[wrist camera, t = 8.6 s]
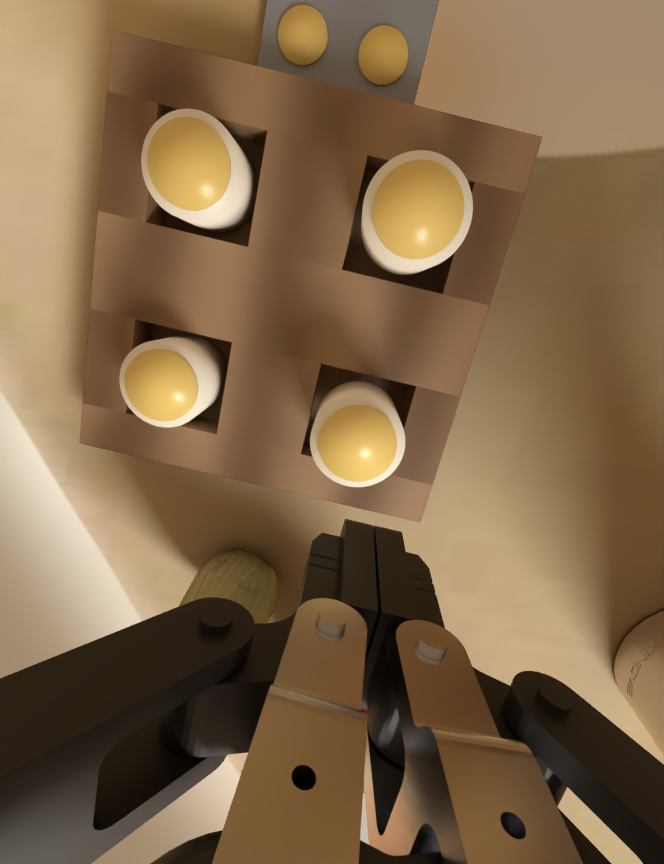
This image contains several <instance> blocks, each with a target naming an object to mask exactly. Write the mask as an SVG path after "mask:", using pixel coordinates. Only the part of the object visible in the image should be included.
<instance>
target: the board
mask: <svg viewBox="0 0 664 864" xmlns="http://www.w3.org/2000/svg"><path fill="white" fill-rule="evenodd" d="M178 109H196V110H200V111H203V112H205V113H207V114H209V115H211V116H213V117H214V118H216V119H217V120H218V121H219V122H220V123H222V124H223V126H224V127H225V128H226V129H227V130H228V132H229V133H230V134H231V136H232V137H233V138H234V140H235V141H236V142H237V144H238V145H239V146H240V148H241V149H242V150H243V152H244V153H245V154H246V156H247V157H248V158H249V160H250V161H251V163H252V165H253V167H254V169H255V172H256V175H257V179H258V190H257V196H256V202H255V208H254V211H253V213H252V214H251V216H250V217H249V219H248V220H247V221H246V222H245V223H244V224H243V225H241V226H240V227H238V228H237V229H235V230H232V231H229V232H225V233H214V232H209V231H206V230H203V229H201V228H199V227H197V226H195V225H193V224H191V223H188V222H186V221H184V220H182V219H180V218H178V217H175V216H173V215H171V214H170V213H168V212H167V211H165V210H164V209H163V208H162V207H161V206H160V205H159V204H158V203H157V202H156V201H155V200H154V198H153V197H152V195H151V194H150V192H149V190H148V188H147V186H146V184H145V181H144V177H143V173H142V166H141V154H142V148H143V144H144V141H145V138H146V136H147V134H148V132H149V130H150V129H151V127H152V126H153V125H154V124H155V122H156V121H158V120H159V119H160V118H161V117H162V116H164V115H165V114H167V113H169V112H171V111H175V110H178ZM541 140H542V137H540V136H536V135H532V134H528V133H524V132H519V131H516V130H512V129H508V128H503V127H500V126H496V125H492V124H488V123H484V122H480V121H476V120H472V119H468V118H464V117H460V116H456V115H452V114H448V113H444V112H440V111H435V110H432V109H428V108H423V107H420V106H416V105H412V104H408V103H404V102H399V101H395V100H391V99H387V98H383V97H379V96H375V95H371V94H367V93H363V92H359V91H355V90H351V89H347V88H343V87H339V86H335V85H331V84H327V83H323V82H319V81H315V80H311V79H307V78H303V77H299V76H295V75H291V74H287V73H283V72H279V71H275V70H271V69H267V68H263V67H259V66H255V65H251V64H247V63H243V62H239V61H235V60H231V59H227V58H223V57H219V56H215V55H211V54H207V53H203V52H199V51H195V50H191V49H187V48H183V47H179V46H175V45H171V44H167V43H163V42H159V41H155V40H151V39H147V38H143V37H139V36H135V35H131V34H127V33H123V32H119V31H115V30H112V36H111V49H110V62H109V74H108V87H107V100H106V113H105V125H104V138H103V151H102V163H101V176H100V189H99V202H98V214H97V227H96V240H95V253H94V265H93V278H92V291H91V304H90V316H89V329H88V342H87V355H86V367H85V380H84V393H83V406H82V418H81V431H80V444H85V445H89V446H93V447H98V448H102V449H106V450H111V451H115V452H119V453H123V454H128V455H132V456H136V457H141V458H145V459H149V460H154V461H158V462H162V463H167V464H171V465H175V466H179V467H184V468H188V469H192V470H197V471H201V472H205V473H210V474H214V475H218V476H222V477H227V478H231V479H235V480H240V481H244V482H248V483H253V484H257V485H261V486H266V487H270V488H274V489H278V490H283V491H287V492H291V493H296V494H300V495H304V496H309V497H313V498H317V499H321V500H326V501H330V502H334V503H339V504H343V505H347V506H352V507H356V508H360V509H365V510H369V511H373V512H377V513H382V514H386V515H390V516H395V517H399V518H403V519H408V520H412V521H416V522H421V519H422V516H423V513H424V510H425V507H426V504H427V500H428V497H429V494H430V491H431V488H432V485H433V481H434V478H435V475H436V472H437V469H438V466H439V462H440V459H441V456H442V453H443V450H444V447H445V443H446V440H447V437H448V434H449V431H450V428H451V424H452V421H453V418H454V415H455V412H456V409H457V406H458V402H459V399H460V396H461V393H462V390H463V387H464V383H465V380H466V377H467V374H468V371H469V368H470V364H471V361H472V358H473V355H474V352H475V349H476V345H477V342H478V339H479V336H480V333H481V330H482V326H483V323H484V320H485V317H486V314H487V311H488V308H489V304H490V301H491V298H492V295H493V292H494V289H495V285H496V282H497V279H498V276H499V273H500V270H501V266H502V263H503V260H504V257H505V254H506V251H507V247H508V244H509V241H510V238H511V235H512V232H513V228H514V225H515V222H516V219H517V216H518V213H519V210H520V206H521V203H522V200H523V197H524V194H525V191H526V187H527V184H528V181H529V178H530V175H531V172H532V168H533V165H534V162H535V159H536V156H537V153H538V149H539V146H540V143H541ZM415 150H427V151H433V152H436V153H439V154H441V155H443V156H445V157H447V158H448V159H450V160H451V161H453V162H454V163H455V164H456V165H457V166H458V167H459V168H460V170H461V171H462V172H463V174H464V175H465V177H466V179H467V181H468V184H469V186H470V189H471V193H472V199H473V213H472V220H471V224H470V227H469V230H468V233H467V235H466V237H465V239H464V241H463V242H462V244H461V245H460V246H459V248H458V249H457V250H456V251H455V252H454V253H453V254H452V255H451V256H450V257H449V258H447V259H446V260H445V261H443V262H441V263H440V264H438V265H436V266H433V267H431V268H428V269H426V270H424V271H421V272H419V273H415V274H410V275H399V274H394V273H391V272H388V271H386V270H384V269H382V268H381V267H379V266H378V265H377V264H376V263H375V262H374V261H373V260H372V259H371V258H370V256H369V255H368V253H367V251H366V249H365V247H364V244H363V240H362V235H361V220H362V209H363V202H364V197H365V194H366V191H367V188H368V186H369V184H370V182H371V180H372V179H373V177H374V176H375V174H376V173H377V172H378V170H379V169H380V168H381V167H382V166H383V165H384V164H386V163H387V162H388V161H389V160H391V159H392V158H394V157H396V156H398V155H400V154H403V153H406V152H409V151H415ZM178 335H195V336H199V337H201V338H204V339H206V340H207V341H209V342H210V343H211V344H213V345H214V346H215V347H216V348H217V349H218V351H219V352H220V353H221V355H222V357H223V359H224V361H225V364H226V367H227V376H226V382H225V388H224V392H223V394H222V395H221V397H220V398H219V399H218V400H217V401H216V402H215V403H213V404H212V405H211V406H209V407H208V408H207V409H205V410H204V411H203V412H201V413H200V414H198V415H197V416H196V417H194V418H193V419H192V420H190V421H189V422H187V423H185V424H183V425H180V426H177V427H169V428H167V427H158V426H154V425H151V424H149V423H147V422H145V421H143V420H142V419H140V418H139V417H138V416H136V415H135V414H134V413H133V412H132V410H131V409H130V408H129V407H128V405H127V404H126V402H125V400H124V398H123V396H122V393H121V389H120V382H119V376H120V369H121V366H122V363H123V361H124V359H125V358H126V356H127V355H128V354H129V353H130V352H131V351H132V350H133V349H134V348H135V347H137V346H139V345H140V344H143V343H145V342H149V341H154V340H159V339H163V338H168V337H173V336H178ZM352 381H363V382H368V383H371V384H374V385H376V386H378V387H379V388H381V389H382V390H383V391H385V392H386V393H387V394H388V395H389V397H390V398H391V399H392V401H393V403H394V405H395V408H396V410H397V413H398V415H399V418H400V421H401V423H402V426H403V429H404V433H405V450H404V454H403V457H402V460H401V462H400V464H399V465H398V467H397V468H396V469H395V471H394V472H393V473H392V474H391V475H390V476H388V477H387V478H386V479H384V480H383V481H381V482H379V483H377V484H374V485H371V486H366V487H350V486H345V485H341V484H339V483H337V482H335V481H333V480H331V479H330V478H328V477H327V476H326V475H325V474H324V473H323V472H322V471H321V470H320V469H319V468H318V466H317V465H316V463H315V461H314V459H313V456H312V453H311V448H310V435H311V431H312V427H313V424H314V421H315V418H316V415H317V412H318V409H319V406H320V404H321V402H322V400H323V399H324V397H325V396H326V395H327V394H328V393H329V392H330V391H331V390H332V389H334V388H335V387H337V386H339V385H341V384H343V383H347V382H352Z"/></svg>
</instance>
